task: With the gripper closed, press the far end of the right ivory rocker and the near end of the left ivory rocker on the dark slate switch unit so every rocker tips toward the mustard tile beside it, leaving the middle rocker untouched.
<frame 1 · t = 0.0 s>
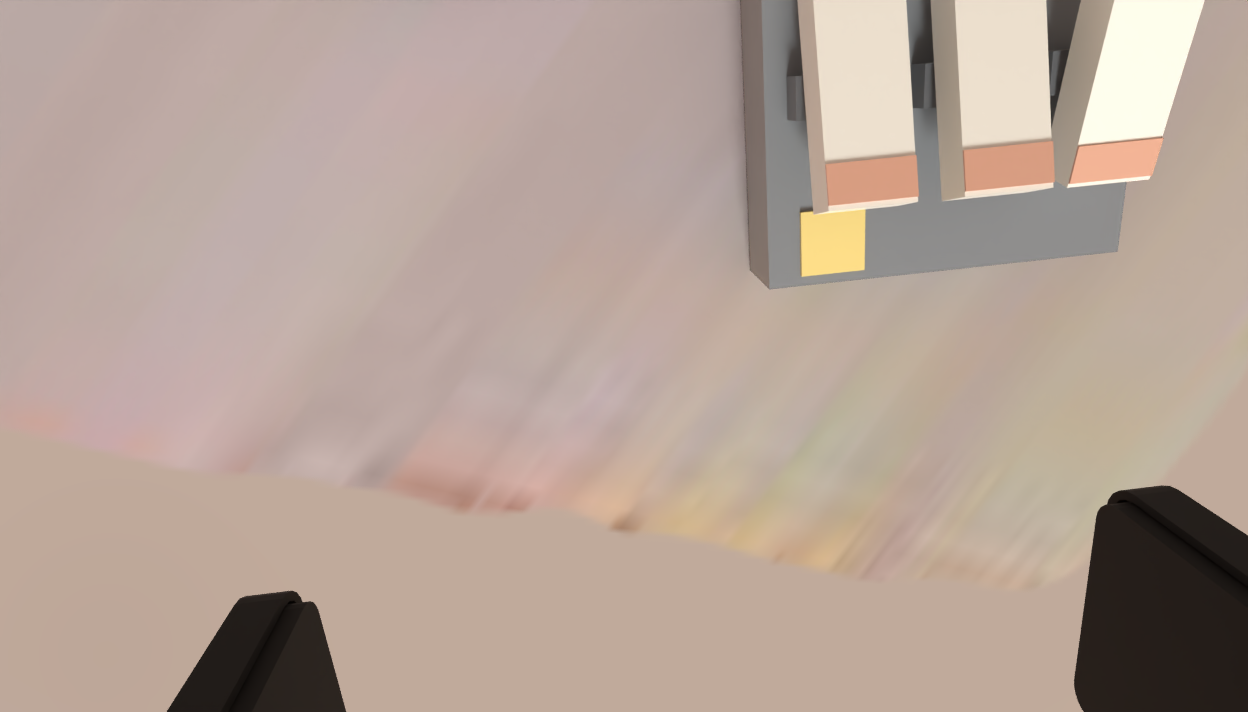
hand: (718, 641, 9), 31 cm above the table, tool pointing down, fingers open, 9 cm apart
rocker a: (857, 94, 31), point 7 cm above the table, hinge at -13.0°
rocker c: (1123, 68, 31), point 7 cm above the table, hinge at 13.0°
switch unit: (915, 82, 37), on the table
rocker b: (991, 81, 31), point 7 cm above the table, hinge at -13.0°
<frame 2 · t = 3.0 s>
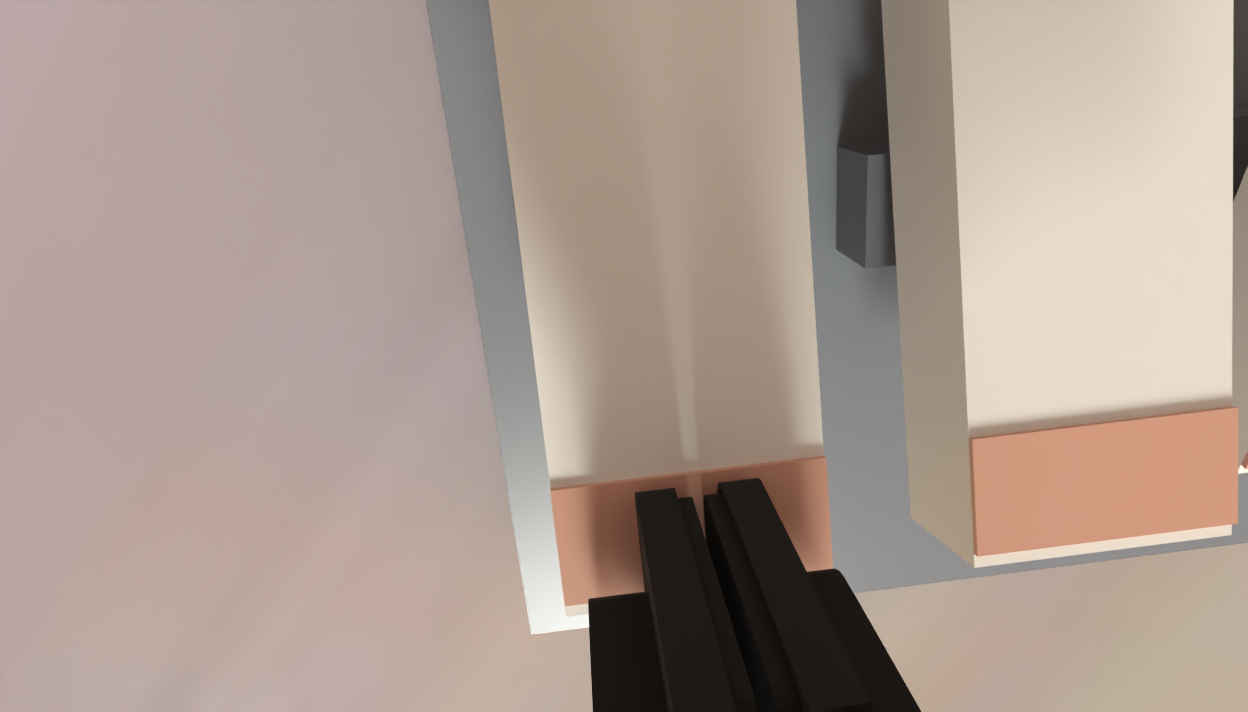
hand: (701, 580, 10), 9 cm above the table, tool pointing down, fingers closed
rocker a: (660, 261, 10), point 7 cm above the table, hinge at -10.9°, touching gripper
switch unit: (863, 161, 17), on the table
rocker b: (1051, 218, 11), point 7 cm above the table, hinge at -13.0°
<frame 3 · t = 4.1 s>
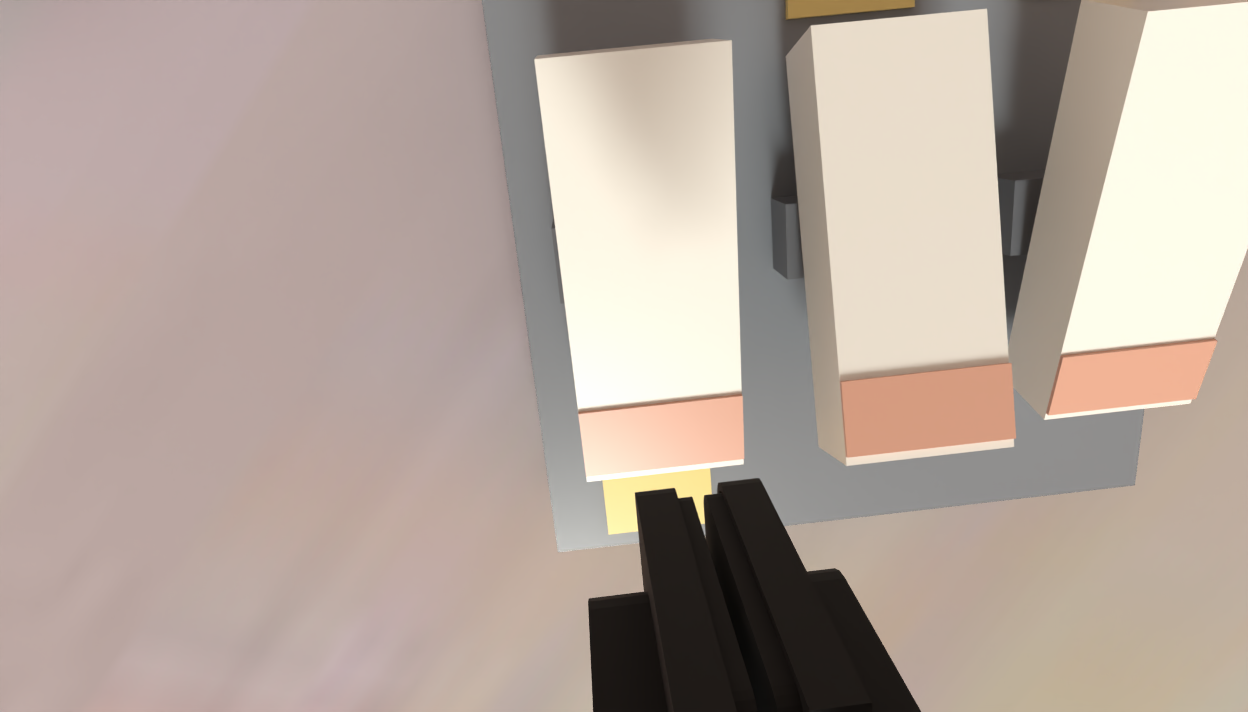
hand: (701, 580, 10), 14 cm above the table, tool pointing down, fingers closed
rocker a: (646, 272, 17), point 7 cm above the table, hinge at 5.6°
rocker c: (1142, 220, 17), point 7 cm above the table, hinge at 13.0°
switch unit: (804, 207, 23), on the table
rocker b: (897, 245, 17), point 7 cm above the table, hinge at -13.0°
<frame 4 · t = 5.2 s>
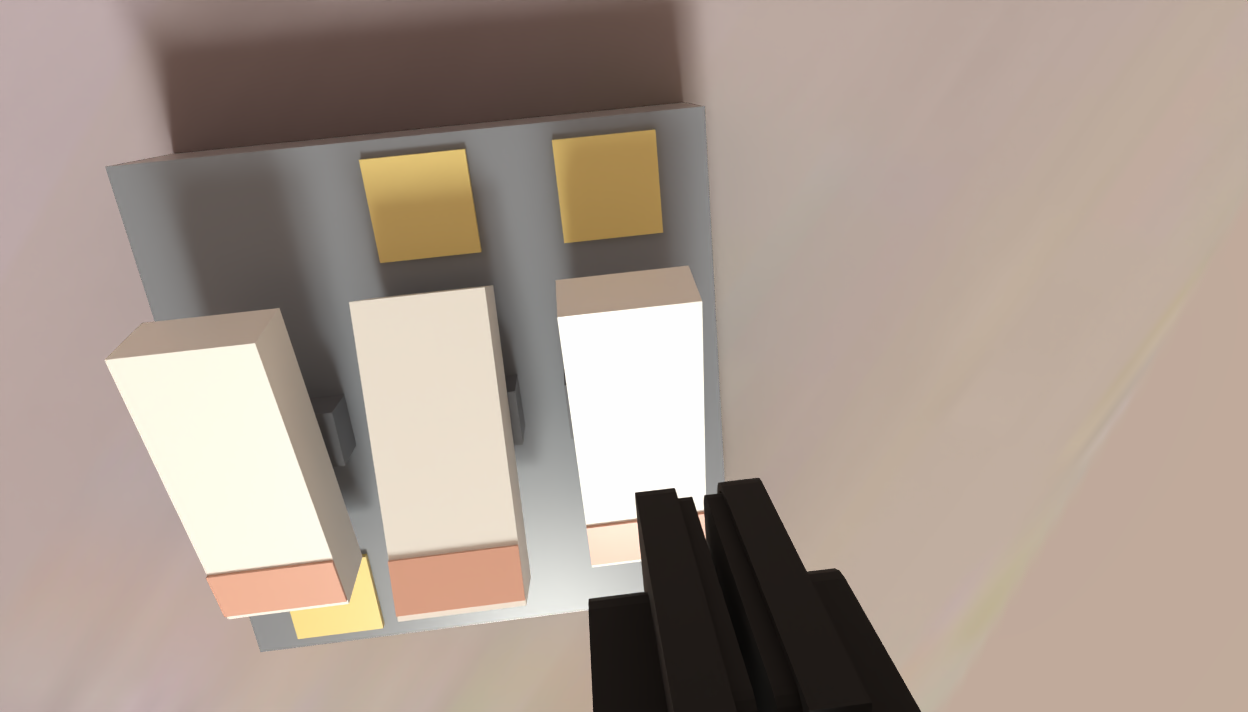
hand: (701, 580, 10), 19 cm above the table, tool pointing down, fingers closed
rocker a: (251, 473, 22), point 7 cm above the table, hinge at 9.3°
rocker c: (637, 428, 22), point 7 cm above the table, hinge at 13.0°
switch unit: (472, 364, 29), on the table
rocker b: (446, 450, 22), point 7 cm above the table, hinge at -13.0°
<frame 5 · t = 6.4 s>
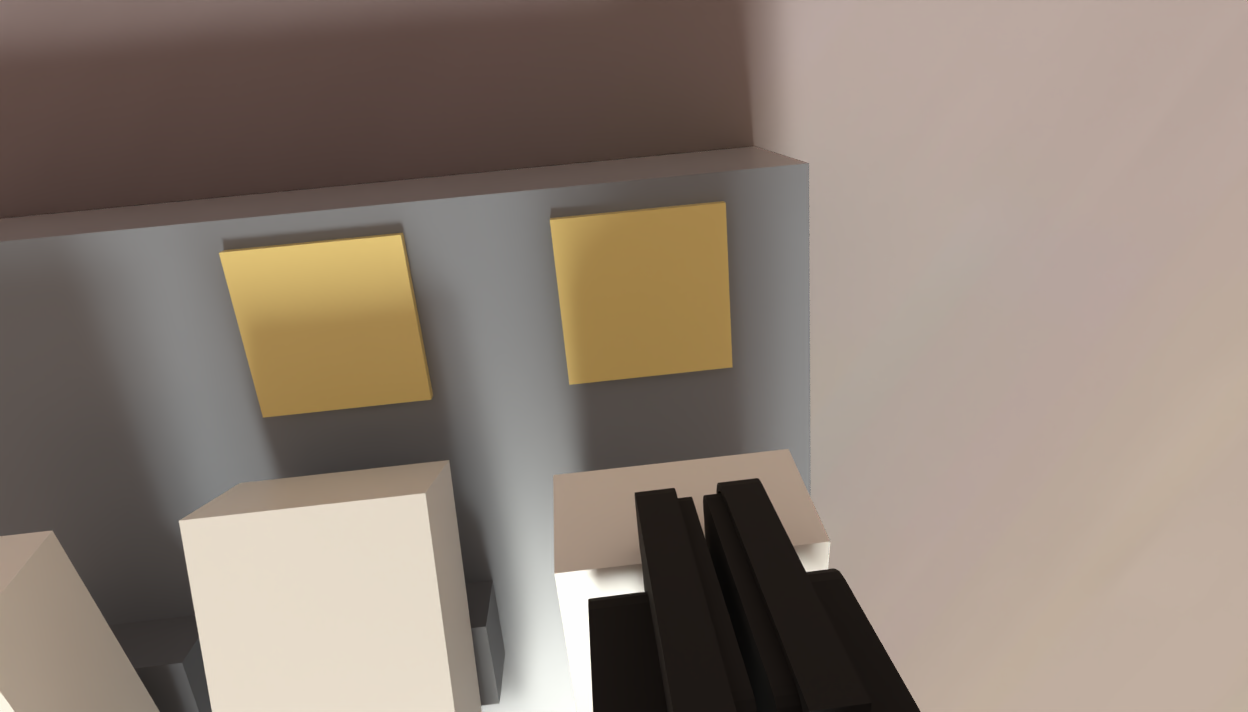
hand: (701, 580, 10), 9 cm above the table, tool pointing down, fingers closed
rocker c: (690, 710, 13), point 7 cm above the table, hinge at 10.5°, touching gripper
switch unit: (432, 523, 19), on the table
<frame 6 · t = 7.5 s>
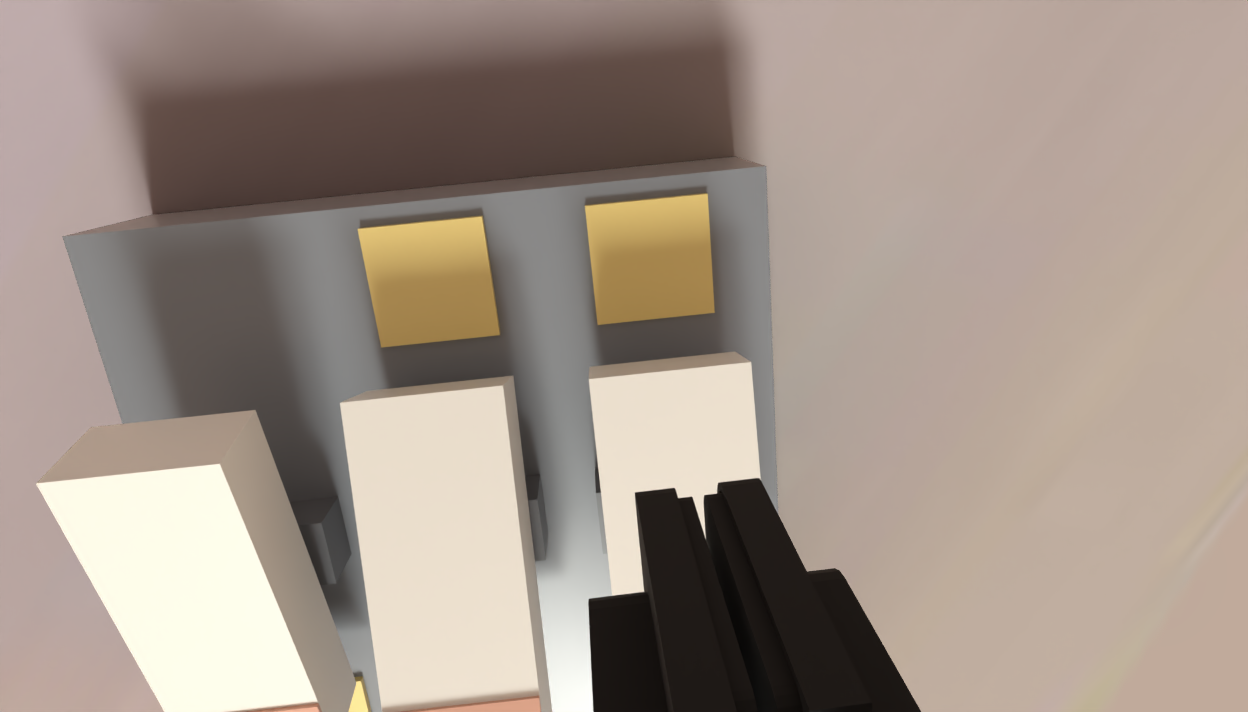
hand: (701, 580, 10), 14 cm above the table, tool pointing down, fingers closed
rocker a: (222, 601, 18), point 7 cm above the table, hinge at 10.5°
rocker c: (683, 549, 18), point 7 cm above the table, hinge at -10.8°
switch unit: (488, 450, 25), on the table
rocker b: (454, 575, 18), point 7 cm above the table, hinge at -13.0°
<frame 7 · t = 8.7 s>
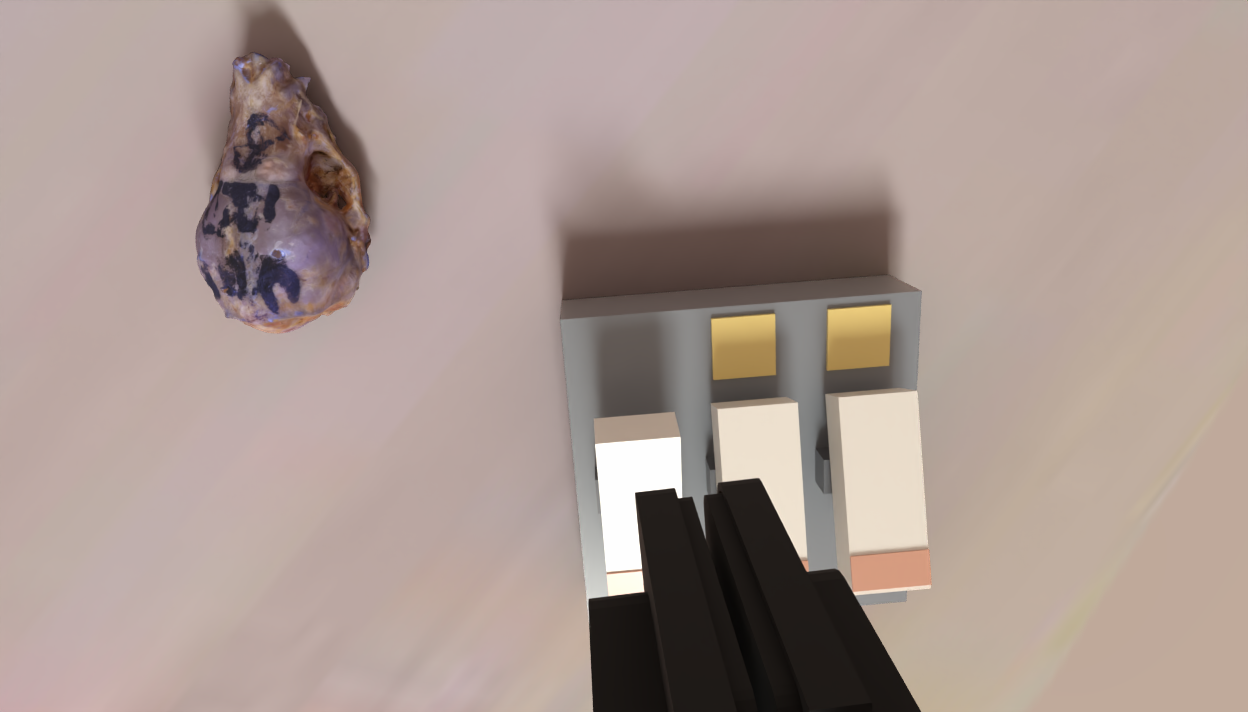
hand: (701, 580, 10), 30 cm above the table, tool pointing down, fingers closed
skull: (302, 190, 37), on the table
rocker a: (640, 510, 35), point 7 cm above the table, hinge at 10.6°
rocker c: (877, 489, 35), point 7 cm above the table, hinge at -15.5°
switch unit: (730, 439, 42), on the table
rocker b: (759, 499, 35), point 7 cm above the table, hinge at -13.0°
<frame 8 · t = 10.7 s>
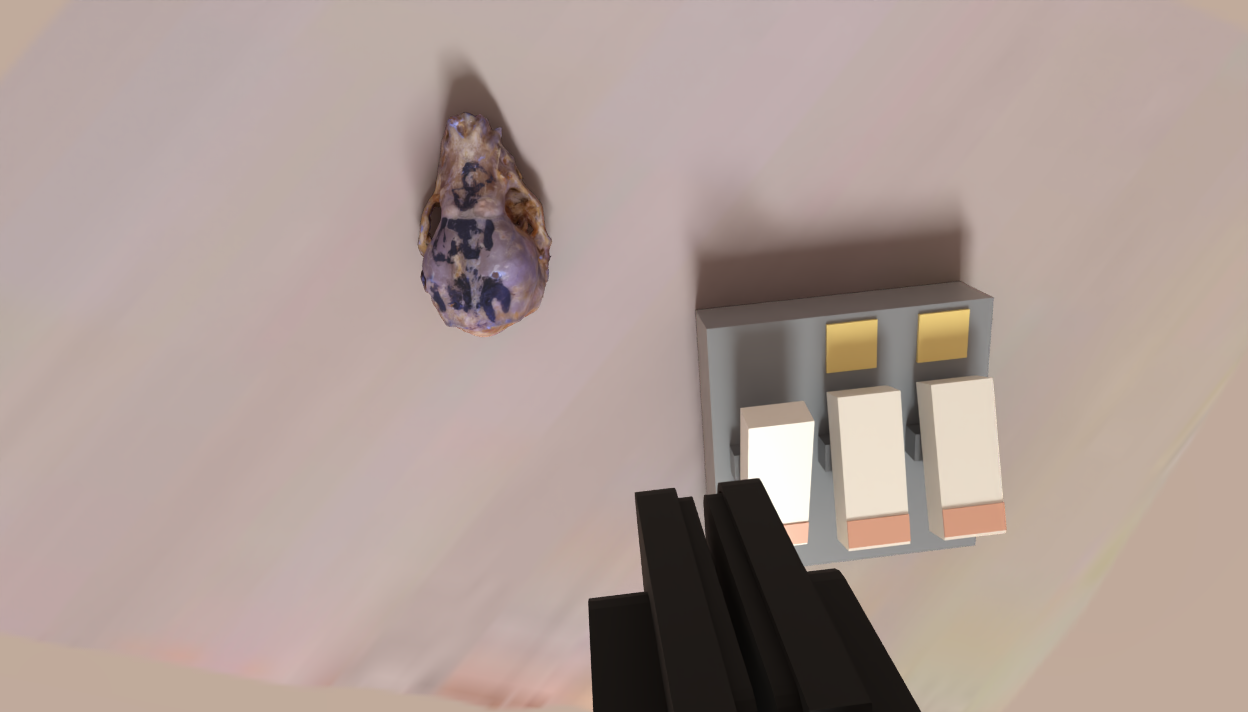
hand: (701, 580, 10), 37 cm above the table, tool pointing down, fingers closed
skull: (488, 217, 45), on the table
rocker a: (775, 478, 44), point 7 cm above the table, hinge at 10.6°
rocker c: (960, 456, 45), point 7 cm above the table, hinge at -16.8°
switch unit: (828, 418, 51), on the table
rocker b: (868, 467, 44), point 7 cm above the table, hinge at -13.0°
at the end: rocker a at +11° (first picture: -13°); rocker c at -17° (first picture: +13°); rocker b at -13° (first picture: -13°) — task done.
